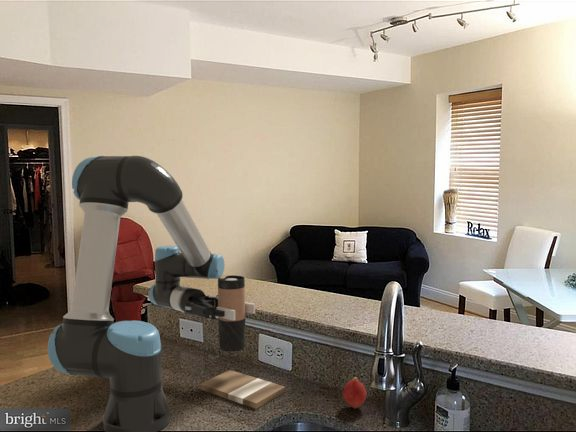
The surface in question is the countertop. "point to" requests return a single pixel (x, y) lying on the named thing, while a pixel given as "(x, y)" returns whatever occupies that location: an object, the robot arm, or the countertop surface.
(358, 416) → the countertop surface
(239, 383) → the wooden cutting board
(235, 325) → the travel mug
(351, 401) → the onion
